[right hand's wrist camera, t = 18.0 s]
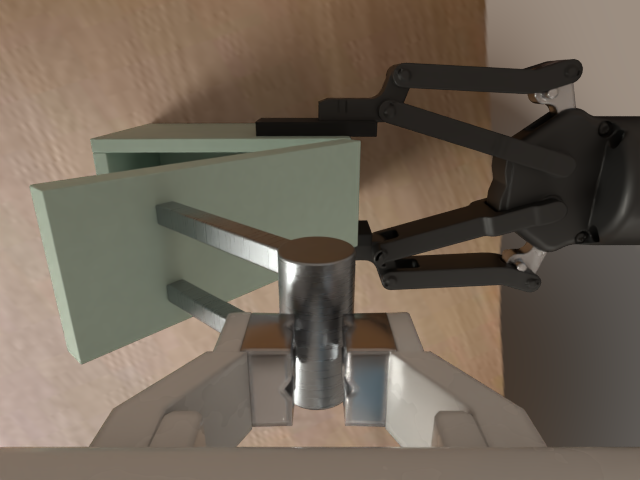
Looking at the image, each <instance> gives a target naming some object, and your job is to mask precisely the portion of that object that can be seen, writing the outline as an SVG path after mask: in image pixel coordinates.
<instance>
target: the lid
mask: <svg viewBox="0 0 640 480" xmlns="http://www.w3.org/2000/svg"><path fill="white" fill-rule="evenodd" d="M360 146H361V141H359V140H350V139H339V140H332V141H325V142H319V143H312V144H305V145H298V146H291V147H285V148H278V149H271V150H264V151H257V152H250V153H244V154H237V155H230V156H223V157H216V158H210V159H203V160H196V161H189V162H182V163H176V164H169V165H162V166H155V167H148V168H142V169H135V170H128V171H121V172H114V173H107V174H101V175H94V176H87V177H80V178H73V179H67V180H60V181H53V182H46V183H39V184H33V185H30V191H31V195H32V199H33V203H34V208H35V212H36V216H37V221H38V225H39V229H40V233H41V238H42V242H43V246H44V250H45V255H46V259H47V263H48V268H49V272H50V276H51V280H52V285H53V289H54V293H55V297H56V302H57V306H58V310H59V314H60V319H61V323H62V327H63V332H64V336H65V340H66V344H67V349H68V351H69V352H70V353H71V354H72V355H73V357H74V358H75V359H76V360H77V361H78V362H79V363H80V364H84V363H86V362H89V361H91V360H93V359H96V358H98V357H100V356H103V355H105V354H107V353H110V352H112V351H114V350H117V349H119V348H121V347H124V346H126V345H128V344H131V343H133V342H135V341H138V340H140V339H142V338H144V337H147V336H149V335H151V334H154V333H156V332H158V331H161V330H163V329H165V328H168V327H170V326H172V325H175V324H177V323H179V322H182V321H184V320H186V319H189V318H191V317H195V318H197V319H198V320H200V321H202V322H203V323H205V324H207V325H208V326H210V327H211V328H213V329H215V330H216V331H218V332H220V333H221V330H222V328H223V325H224V323H225V320H226V318H227V315H228V314H229V313H241V312H244V311H242V310H240V309H238V308H237V307H235V306H233V305H231V304H229V303H227V302H228V301H230V300H233V299H235V298H237V297H240V296H242V295H244V294H247V293H249V292H251V291H254V290H256V289H258V288H261V287H263V286H265V285H268V284H270V283H272V282H275V281H277V280H278V281H279V307H280V313H294V314H295V317H296V338H295V347H296V350H297V369H296V389H295V390H294V404H295V405H297V406H299V407H302V408H305V409H310V410H324V409H329V408H332V407H335V406H337V405H339V404H341V403H342V402H343V389H342V376H341V348H342V346H343V341H342V314H354V291H355V256H356V251H355V248H354V247H356V246H357V245H358V213H359V180H360Z"/></svg>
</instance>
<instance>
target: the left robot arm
mask: <svg viewBox="0 0 640 480" xmlns="http://www.w3.org/2000/svg"><path fill="white" fill-rule="evenodd" d="M582 71H583V67H582V64H581V63H580V62H579V61H578V60H575V59H570V60H556V61H547V62H544V63H540V64H537V65H534V66H531V67H528V68H525V69H510V68H492V67H473V66H455V65H436V64H417V63H401V64H397V65H393V66H391V67H390V68H389V69H388V71H387V74H386V79H385V81H384V84H383V86H382V89H381V91H380V92H379V93H378V94H377V95H376V96H374V97H372V98H326V99H324V100H321V101H319V118H261V119H259V120H258V121H256V122H255V124H256V136H350V137H377V122H386V123H389V124H393V125H396V126H399V127H402V128H405V129H409V130H412V131H415V132H418V133H422V134H425V135H428V136H431V137H435V138H438V139H441V140H444V141H447V142H451V143H454V144H457V145H460V146H464V147H467V148H470V149H473V150H476V151H480V152H483V153H486V154H489V155H492V156H493V159H492V172H493V181H492V183H491V185H490V188H489V190H488V196H487V198H485V199H481V200H478V201H474V202H472V203H471V204H470V205H469V206H466V207H463V208H459V209H455V210H452V211H448V212H445V213H441V214H437V215H434V216H430V217H427V218H423V219H419V220H416V221H412V222H409V223H405V224H402V225H398V226H394V227H391V228H387V229H384V230H380V231H376V232H374V233H372V232H371V230H370V227H369V224H368V222H367V220H362V221H358V245H357V246H356V247H354V248H355V251H356V256H355V260H368V261H371V262H372V263H373V264H374V265H375V266H376V268H377V271H378V274H379V277H380V279H381V282H382V285H383V286H384V288H386V289H388V290H401V289H422V288H444V287H465V286H487V285H505V286H508V287H512V288H515V289H519V290H522V291H526V292H533V291H536V290H537V289H538V288H539V287H540V285H541V279H540V278H539V276H537V275H536V272H537V270H538V268H539V266H540V265H541V263H542V261H543V259H544V257H545V255H546V253H547V252H553V251H556V250H558V249H561V248H563V247H565V246H568V245H572V244H583V245H640V116H592V115H590V114H588V113H587V112H585V111H584V110H582V109H578V108H576V105H575V95H574V85H573V83H574V82H576V81H577V80H578V79H579V78H580V77H581V75H582ZM409 88H421V89H440V90H459V91H478V92H498V93H517V94H528V98H529V100H530V101H531V102H533V103H537V104H545V105H547V106H548V108H549V111H550V112H548V113H547V114H545V115H544V116H542V117H541V118H539V119H538V120H536V121H535V122H533V123H532V124H530V125H529V126H527V127H526V128H524V129H523V130H521V131H520V132H518V133H517V134H515V135H514V136H512V137H509V136H506V135H503V134H499V133H496V132H493V131H490V130H487V129H484V128H480V127H477V126H474V125H471V124H468V123H465V122H462V121H458V120H455V119H452V118H449V117H446V116H443V115H439V114H436V113H433V112H430V111H427V110H424V109H420V108H417V107H414V106H411V105H408V104H405V103H404V101H405V98H406V96H407V93H408V91H409ZM511 232H515V233H516V234H518V235H519V236H520V237H522V238H523V239H524V240H525V241H527V242H526V244H525V245H524V246H523V247H521V248H519V249H506V250H504V251H503V252H502V255H500V254H496V253H464V254H442V255H421V256H412V255H416V254H420V253H423V252H427V251H431V250H434V249H438V248H442V247H445V246H449V245H453V244H457V243H460V242H464V241H468V240H471V239H475V238H479V237H482V236H500V235H504V234H507V233H511Z"/></svg>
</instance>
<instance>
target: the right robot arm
mask: <svg viewBox="0 0 640 480" xmlns="http://www.w3.org/2000/svg"><path fill="white" fill-rule="evenodd" d="M295 338H296V317H295V314H294V313H251V312H241V313H229V314H228V315H227V318H226V320H225V323H224V325H223V328H222V330H221V333H220V336H219V338H218V341H217V343H216V346H215V348H214V351H213V352H205V353H204V354H202V355H200V356H199V357H197V358H195V359H194V360H192V361H190V362H189V363H187V364H186V365H184V366H182V367H181V368H179V369H177V370H176V371H174V372H173V373H171V374H169V375H168V376H166V377H164V378H163V379H161V380H159V381H158V382H156V383H155V384H153V385H151V386H150V387H148V388H146V389H145V390H143V391H141V392H140V393H138V394H137V395H135V396H133V397H132V398H130V399H128V400H127V401H125V402H124V403H122V404H120V405H119V406H117V407H115V408H114V409H113V410H112V411H111V413H110V415H109V416H108V418H107V419H106V421H105V422H104V424H103V426H102V427H101V429H100V430H99V432H98V433H97V435H96V436H95V438H94V440H93V441H92V443H91V444H90V446H89V447H0V480H640V447H547V445H546V444H545V442H544V441H543V439H542V437H541V436H540V434H539V433H538V431H537V429H536V428H535V426H534V425H533V423H532V421H531V420H530V418H529V416H528V415H527V413H526V412H525V410H524V409H523V408H521V407H519V406H518V405H516V404H514V403H513V402H511V401H510V400H508V399H506V398H505V397H503V396H502V395H500V394H498V393H497V392H495V391H493V390H492V389H490V388H489V387H487V386H485V385H484V384H482V383H481V382H479V381H477V380H476V379H474V378H472V377H471V376H469V375H468V374H466V373H464V372H463V371H461V370H460V369H458V368H456V367H455V366H453V365H451V364H450V363H448V362H447V361H445V360H443V359H442V358H440V357H439V356H437V355H435V354H434V353H432V352H424V350H423V347H422V345H421V342H420V340H419V337H418V335H417V332H416V329H415V327H414V324H413V322H412V319H411V317H410V314H409V313H407V312H399V313H354V314H342V341H343V346H342V348H341V376H342V389H343V406H344V418H345V426H376V427H386V428H385V429H386V430H387V431H388V432H389V433H390V434H391V435H392V437H393V438H394V439H395V440H396V441H397V442H398V443H399V445H400V446H401V447H237V445H238V444H239V443H240V442H241V441H242V440H243V439H244V437H245V436H246V435H247V434H248V433H249V432H250V431H251V430H252V427H261V426H292V425H293V413H294V390H295V389H296V369H297V350H296V347H295Z"/></svg>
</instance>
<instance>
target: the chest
mask: <svg viewBox="0 0 640 480" xmlns="http://www.w3.org/2000/svg"><path fill="white" fill-rule="evenodd" d="M339 139H350V140H351V138H350V136H256V124H255V123H186V124H146V125H142V126H138V127H134V128H131V129H127V130H123V131H119V132H115V133H111V134H107V135H104V136H100V137H96V138H92V139H90V140H91V146H92V152H93V157H94V163H95V168H96V174H97V175H101V174H107V173H114V172H121V171H128V170H135V169H142V168H148V167H155V166H162V165H169V164H176V163H182V162H189V161H196V160H203V159H210V158H216V157H223V156H230V155H237V154H244V153H250V152H257V151H264V150H271V149H278V148H285V147H291V146H298V145H305V144H312V143H319V142H325V141H332V140H339Z"/></svg>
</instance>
